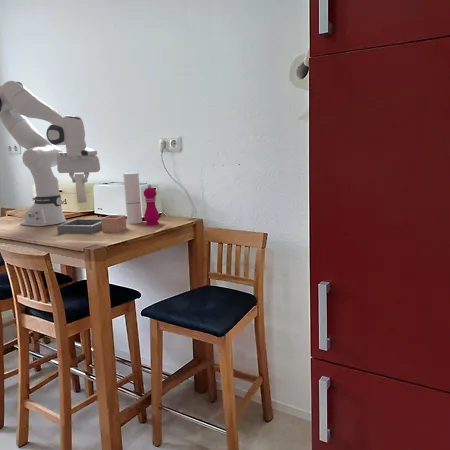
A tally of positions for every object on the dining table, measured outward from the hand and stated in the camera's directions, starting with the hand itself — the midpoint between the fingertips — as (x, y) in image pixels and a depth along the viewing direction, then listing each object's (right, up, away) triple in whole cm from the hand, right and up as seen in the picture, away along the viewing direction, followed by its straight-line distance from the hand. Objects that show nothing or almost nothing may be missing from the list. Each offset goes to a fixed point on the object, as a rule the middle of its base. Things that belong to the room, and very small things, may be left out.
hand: (80, 182), depth 217 cm
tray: (+1, -22, +5) cm, 23 cm away
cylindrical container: (+22, -19, +15) cm, 33 cm away
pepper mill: (+32, -20, +9) cm, 39 cm away
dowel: (0, -9, +2) cm, 9 cm away
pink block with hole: (+16, -23, 0) cm, 28 cm away
